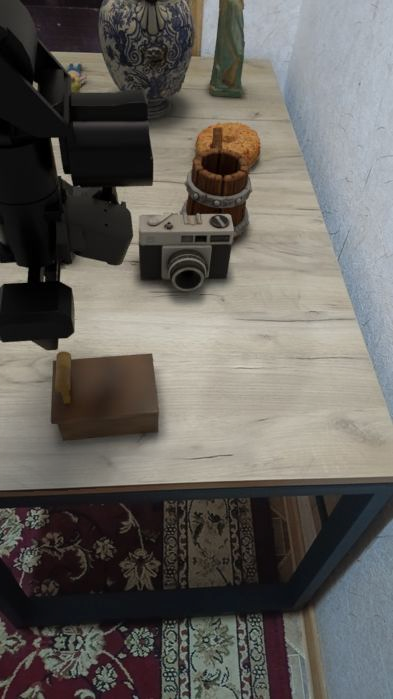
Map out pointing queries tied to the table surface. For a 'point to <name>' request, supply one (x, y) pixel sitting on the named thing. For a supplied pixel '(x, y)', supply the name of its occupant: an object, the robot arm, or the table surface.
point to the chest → (109, 427)
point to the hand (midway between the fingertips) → (53, 313)
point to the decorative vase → (147, 47)
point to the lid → (102, 388)
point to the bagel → (232, 140)
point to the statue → (228, 50)
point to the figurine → (75, 77)
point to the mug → (219, 184)
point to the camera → (185, 248)
